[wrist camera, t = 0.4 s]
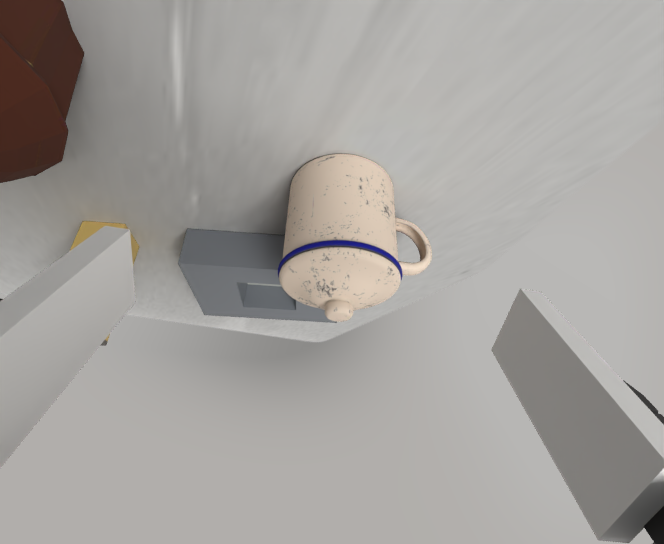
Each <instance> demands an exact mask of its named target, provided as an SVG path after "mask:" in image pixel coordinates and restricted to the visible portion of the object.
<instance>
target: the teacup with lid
mask: <svg viewBox="0 0 664 544" xmlns="http://www.w3.org/2000/svg"><path fill="white" fill-rule="evenodd" d="M396 231H398V232H401V233H403V234H405V235H407V236H408V237H410V238H411V239H412V240H413V242H414V243H415V244H416V246H417V248H418V250H419V253H420V262H417V263H407V262H401V261H398V251H397V236H396ZM431 259H432V250H431V246H430V243H429V241H428V239H427V237H426V236H425V234H424V233H423V232H422V231H421V229H419V228H418V227H417V226H416V225H415V224H413V223H411V222H409V221H406V220H403V219H400V218H395V206H394V191H393V184H392V181H391V179H390V177H389V176H388V174H387V173H386V172H385V170H384V169H383V168H382V167H380V166H379V165H378V164H376V163H375V162H373V161H371V160H369V159H366V158H364V157H361V156H357V155H351V154H332V155H326V156H322V157H319V158H316V159H314V160H312V161H310V162H308V163H307V164H305V165H304V166H303V167H301V168H300V169H299V171H298V172H297V173H296V174H295V176H294V178H293V180H292V183H291V187H290V196H289V205H288V214H287V223H286V231H285V240H284V249H283V258H282V260H281V262H280V264H279V267H278V277H279V281H280V284H281V286H282V288H283V289H284V291H285V292H286V293H287V294H288V295H289V296H291V297H292V298H293V299H295V300H297V301H299V302H301V303H303V304H305V305H308V306H312V307H315V308H320V309H323V310H325V315H326V317H327V318H328V319H329V320H332V321H337V322H342V321H347V320H349V319H350V318H351V317H352V316H353V311H355V310H358V309H364V308H368V307H372V306H375V305H377V304H380V303H382V302H384V301H386V300H387V299H389V298H390V297H391V296H392V295H393V294H394V293H395V292H396V291H397V289H398V287H399V285H400V282H401V280H402V275H416V274H419V273H421V272H422V271H424V270H425V269H426V268H427V267H428V265H429V264H430V262H431Z"/></svg>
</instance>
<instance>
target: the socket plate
mask: <svg viewBox="0 0 664 544" xmlns="http://www.w3.org/2000/svg"><path fill="white" fill-rule="evenodd" d="M284 240H285V236H283V235H269V234H255V233H241V232H227V231H213V230H199V229H187V232H186V236H185V239H184V243H183V247H182V250H181V254H180V258H179V261H178V264H179V266H180V268H181V270H182V272H183V274H184V276H185V278H186V280H187V282H188V284H189V286H190V288H191V290H192V292H193V294H194V296H195V298H196V299H197V301H198V303H199V305H200V307H201V309H202V311H203V313H204V315H213V316H230V317H247V318H264V319H281V320H297V321H314V322H331V323H337V321H332V320H329V319H328V318H327V317H326V315H325V310H323V309H320V308H315V307H312V306H308V305H305V304H303V303H301V302H299V301H297V300H295V299H293V298H292V297H291V296H289V295H288V294H287V293H286V292H285V291H284V289H283V288H282V286H281V284H280V281H279V277H278V267H279V264H280V262H281V260H282V258H283V249H284Z"/></svg>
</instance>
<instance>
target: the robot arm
mask: <svg viewBox="0 0 664 544" xmlns="http://www.w3.org/2000/svg"><path fill="white" fill-rule="evenodd" d="M135 302H136V296H135V284H134V272H133V261H132V249H131V237H130V229H124V228H117V227H110V226H104V227H102V228H101V229H100V230H98V231H97V232H95V233H94V234H93V235H91V236H90V237H89V238H87V239H86V240H84V241H83V242H82V243H80V244H79V245H77V246H76V247H75V248H73V249H72V250H71V251H69V252H68V253H66V254H65V255H64V256H62V257H61V258H60V259H58V260H57V261H55V262H54V263H53V264H51V265H50V266H48V267H47V268H46V269H44V270H43V271H42V272H40V273H39V274H37V275H36V276H35V277H33V278H32V279H30V280H29V281H28V282H26V283H25V284H24V285H22V286H21V287H19V288H18V289H17V290H15V291H14V292H12V293H11V294H10V295H8V296H7V297H6V298H4V299H0V468H1V467H2V466H3V464H4V463H5V462H6V461H7V459H8V458H9V457H10V456H11V454H12V453H13V452H14V451H15V449H16V448H17V447H18V446H19V445H20V443H21V442H22V441H23V440H24V438H25V437H26V436H27V435H28V434H29V432H30V431H31V430H32V429H33V427H34V426H35V425H36V424H37V423H38V421H39V420H40V419H41V417H42V416H43V415H44V414H45V412H46V411H47V410H48V409H49V408H50V407H51V405H52V404H53V403H54V401H55V400H56V399H57V398H58V397H59V395H60V394H61V393H62V392H63V391H64V389H65V388H66V387H67V386H68V384H69V383H70V382H71V381H72V380H73V378H74V377H75V376H76V375H77V373H78V372H79V371H80V370H81V368H82V367H83V366H84V365H85V364H86V362H87V361H88V360H89V359H90V357H91V356H92V355H93V354H94V352H95V351H96V350H97V349H98V348H99V346H100V345H101V344H102V343H103V341H104V340H105V339H106V338H107V337H108V335H109V334H110V333H111V332H112V330H113V329H114V328H115V327H116V325H117V324H118V323H119V322H120V320H121V319H122V318H123V317H124V316H125V314H126V313H127V312H128V311H129V309H130V308H131V307H132V306H133V305H134V303H135ZM492 352H493V354H494V356H495V357H496V359H497V361H498V363H499V364H500V366H501V368H502V370H503V372H504V373H505V375H506V377H507V379H508V381H509V382H510V384H511V386H512V388H513V389H514V391H515V393H516V395H517V397H518V398H519V400H520V402H521V404H522V406H523V407H524V409H525V411H526V413H527V414H528V416H529V418H530V420H531V422H532V423H533V425H534V427H535V429H536V430H537V432H538V434H539V436H540V437H541V439H542V441H543V443H544V445H545V446H546V448H547V450H548V452H549V453H550V455H551V457H552V459H553V461H554V462H555V464H556V466H557V468H558V469H559V471H560V473H561V475H562V477H563V479H564V480H565V482H566V484H567V485H568V487H569V489H570V491H571V492H572V495H573V496H574V498H575V500H576V502H577V503H578V505H579V507H580V509H581V510H582V512H583V514H584V516H585V517H586V519H587V521H588V523H589V525H590V526H591V528H592V530H593V532H594V534H595V535H596V537H597V539H598V540H603V541H613V542H623V543H629V542H630V541H631V540H632V539H633V538H634V537H635V536H636V535H637V534H638V533H639V532H640V531H641V530H642V529H643V528H645V529H646V531H647V532H648V534H649V535H650V537H651V538H652V540H654V543H653V544H664V417H663V416H662V415H661V414H658V410H657V409H656V408H655V407H654V406H653V405H652V404H651V403H650V402H649V401H648V400H647V399H646V398H645V397H644V395H642V394H641V393H640V392H638V391H637V390H636V389H634V388H633V387H632V386H630V385H629V384H628V383H626V382H625V381H623V380H622V379H621V378H620V377H619V376H618V375H617V374H616V373H615V371H614V370H613V369H612V368H611V367H610V366H609V365H608V364H607V363H606V362H605V361H604V360H603V358H602V357H601V356H600V355H599V354H598V353H597V352H596V351H595V350H594V349H593V348H592V347H591V345H590V344H589V343H588V342H587V341H586V340H585V339H584V338H583V337H582V336H581V335H580V334H579V332H578V331H577V330H576V329H575V328H574V327H573V326H572V325H571V324H570V323H569V322H568V321H567V319H566V318H565V317H564V316H563V315H562V314H561V313H560V312H559V311H558V310H557V309H556V308H555V306H554V305H553V304H552V303H551V302H550V301H549V300H548V299H547V298H546V297H545V296H544V294H542V292H540V291H533V290H527V289H520V290H519V292H518V294H517V297H516V299H515V301H514V303H513V305H512V307H511V309H510V311H509V313H508V316H507V318H506V320H505V322H504V324H503V326H502V328H501V330H500V333H499V335H498V337H497V339H496V341H495V343H494V345H493V347H492Z"/></svg>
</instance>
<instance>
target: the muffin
mask: <svg viewBox="0 0 664 544" xmlns="http://www.w3.org/2000/svg"><path fill="white" fill-rule="evenodd" d="M83 56H84V51H83V49H82V48H81V46H80V44H79V42H78V40H77V38H76V36H75V34H74V32H73V30H72V27H71V24H70V21H69V18H68V15H67V12H66V9H65V6H64V3H63V2H62V1H61V0H0V183H3V182H8V181H13V180H17V179H21V178H25V177H29V176H36V175H37V174H39V173H41V172H43V171H45V170H46V169H48V168H50V167H52V166H54V165H55V164H57V163H59V162H61V161H62V159H63V154H64V149H65V145H66V140H67V135H68V128H67V125H66V122H65V120H66V116H67V113H68V109H69V106H70V102H71V99H72V95H73V91H74V88H75V84H76V81H77V77H78V73H79V70H80V66H81V63H82V59H83Z"/></svg>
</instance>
